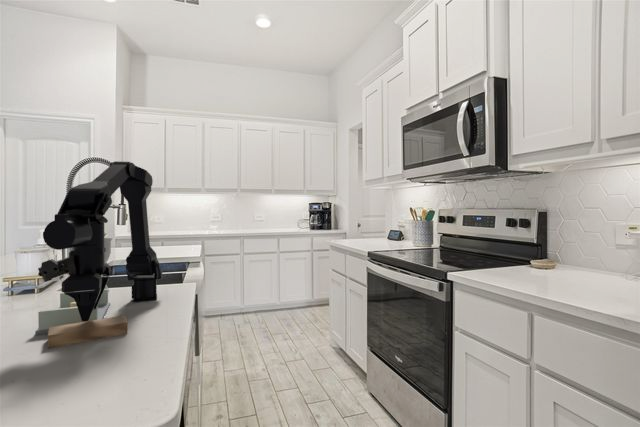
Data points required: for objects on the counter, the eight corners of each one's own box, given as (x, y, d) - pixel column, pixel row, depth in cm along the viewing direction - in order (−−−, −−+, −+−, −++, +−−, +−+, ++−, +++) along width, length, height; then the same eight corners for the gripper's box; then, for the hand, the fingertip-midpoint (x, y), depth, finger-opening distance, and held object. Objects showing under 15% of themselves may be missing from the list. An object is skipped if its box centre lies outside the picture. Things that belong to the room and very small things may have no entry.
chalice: (96, 289, 117) (96, 238, 117) (116, 289, 118) (116, 238, 118) (83, 294, 110) (83, 240, 110) (105, 294, 111) (105, 239, 110)
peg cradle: (110, 305, 98) (110, 288, 98) (99, 326, 80) (99, 305, 80) (59, 310, 93) (59, 292, 93) (35, 334, 75) (35, 312, 75)
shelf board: (124, 327, 81) (124, 315, 81) (127, 335, 76) (127, 322, 76) (49, 341, 72) (49, 327, 72) (47, 350, 68) (47, 335, 68)
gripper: (55, 242, 79) (55, 308, 79) (27, 251, 62) (28, 335, 62) (110, 240, 84) (111, 302, 84) (98, 248, 67) (99, 326, 67)
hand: (89, 314), depth 74 cm, fingers open, 9 cm apart
